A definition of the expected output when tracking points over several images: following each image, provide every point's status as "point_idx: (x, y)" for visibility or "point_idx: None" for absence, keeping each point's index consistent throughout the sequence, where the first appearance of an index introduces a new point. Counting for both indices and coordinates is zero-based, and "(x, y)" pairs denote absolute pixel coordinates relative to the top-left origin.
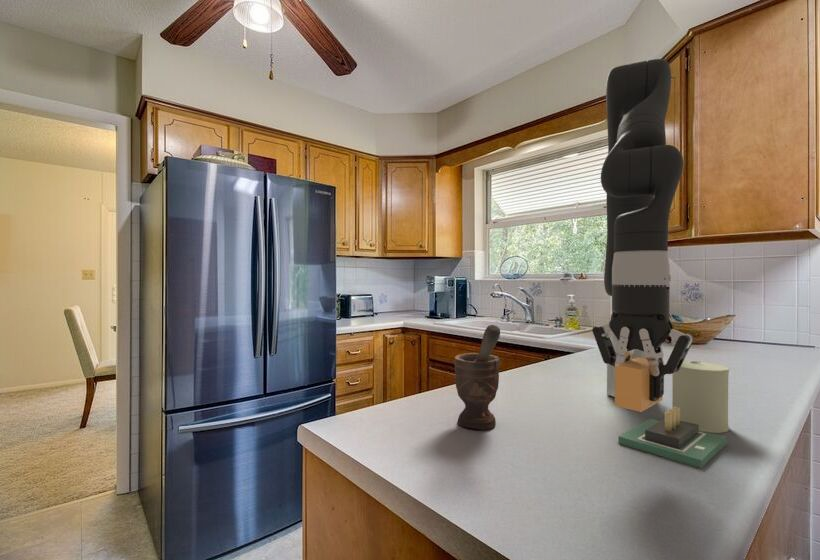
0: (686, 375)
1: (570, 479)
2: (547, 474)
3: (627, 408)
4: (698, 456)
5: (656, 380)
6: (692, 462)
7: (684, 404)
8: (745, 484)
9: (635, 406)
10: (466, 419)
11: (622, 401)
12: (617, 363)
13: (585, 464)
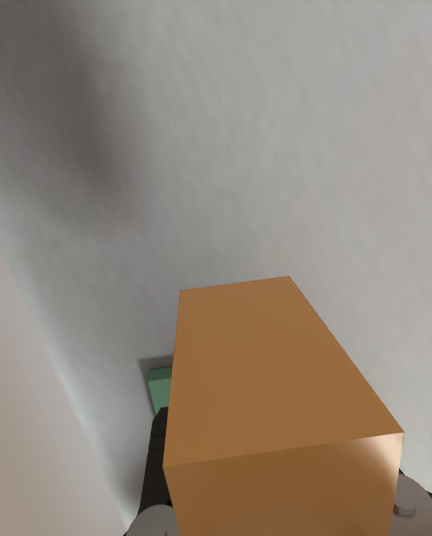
0: None
1: (285, 62)
2: (340, 28)
3: (237, 284)
4: (160, 392)
5: (162, 487)
6: (164, 371)
7: None
8: (73, 369)
9: (203, 294)
10: None
11: (263, 292)
12: (421, 520)
13: (304, 181)
